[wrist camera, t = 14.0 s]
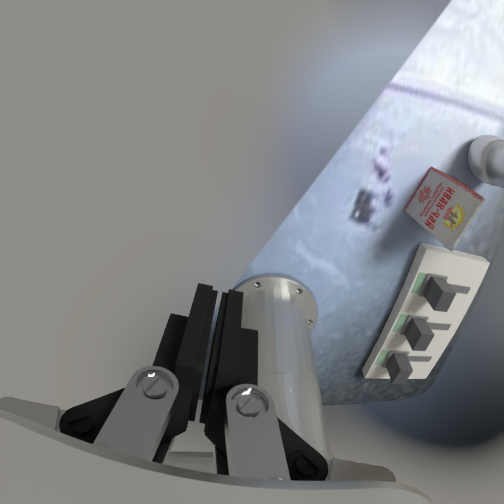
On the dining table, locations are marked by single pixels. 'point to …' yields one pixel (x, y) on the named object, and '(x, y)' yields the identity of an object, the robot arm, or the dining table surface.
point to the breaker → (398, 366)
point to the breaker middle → (417, 332)
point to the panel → (428, 308)
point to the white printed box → (444, 207)
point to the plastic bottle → (487, 159)
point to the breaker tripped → (437, 292)
